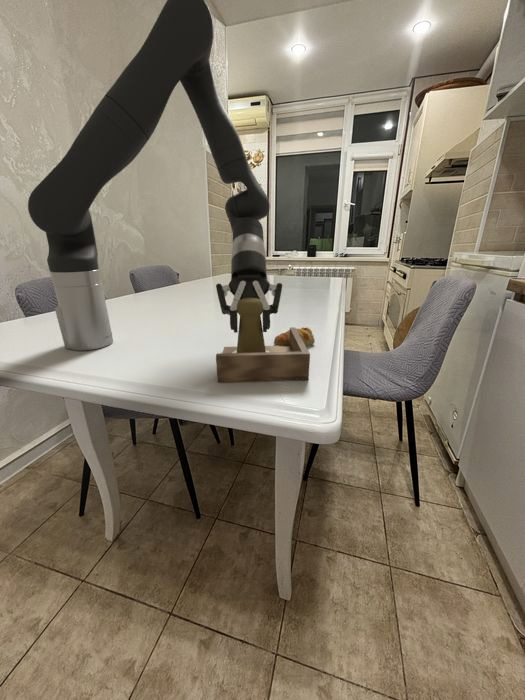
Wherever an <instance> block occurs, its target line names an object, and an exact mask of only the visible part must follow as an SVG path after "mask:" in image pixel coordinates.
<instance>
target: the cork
mask: <svg viewBox="0 0 525 700" xmlns="http://www.w3.org/2000/svg"><path fill="white" fill-rule="evenodd" d="M237 312H238V313H237V315H239V323H238V333H237V345H236V347H237V353H260V352H266V350H265V346H266V344H265V338H264V332H263V321H262V314H263V313H262V312H263V303H262V301H261V300H260V299H257V298H244V299H241V300H239V301H238V303H237Z"/></svg>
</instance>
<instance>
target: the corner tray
mask: <svg viewBox="0 0 525 700" xmlns="http://www.w3.org/2000/svg"><path fill="white" fill-rule="evenodd" d="M296 329H297V328H296V327H289V330H290V342H289V345H281V346H277V345H265V350H266V352H260V353H237V346H223V350H222V352H221V353H218V352H217V353H216V354H215V360H216V361H215V363H216V378H217V383H219V384H220V383H221V384H222V383H252V382H254V383H255V382H256V383H257V382H260V383H261V382H287V381H290V382H291V381H309V380H310V379H309V376H310V363H311V362H310V361H311V360H310V359H311V352H310V351H309V349H308V346H305V344H304V342H303V340H302V339H301V337H300V335H299V333H298V331H297V330H296Z"/></svg>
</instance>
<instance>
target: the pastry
mask: <svg viewBox="0 0 525 700" xmlns="http://www.w3.org/2000/svg"><path fill="white" fill-rule="evenodd" d="M296 330H297V331H298V333H299V335H300V337H301V339H302V340H303V342H304V344H305V346H306V347H309V346H308V345H311V346H313V345H314V344H315V343H316V342H315V337H314V334H313V331H312V330H311V328H309V327H300V328H296ZM289 342H290V329H288V330H287V331H286V332H282V333H280V334H278V335H277V336H275V337H274V340H273V344H274V346H281V345H289Z"/></svg>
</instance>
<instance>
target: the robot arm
mask: <svg viewBox="0 0 525 700" xmlns="http://www.w3.org/2000/svg"><path fill="white" fill-rule="evenodd" d="M214 35H215V34H214V21H213V16H212V12H211V10H210V8H209V6H208V4H207V2H206V0H166V2H165V3H164V6H163V7H162V8H161V11H160V13H159V15H158V16H157V18H156V20H155V22H154V24H153V26H152V28H151V29H150V31H149V33H148V35H147V37H146V39H145V41H144V42H143V44H142V45H141V48H139V50H138V52H137V53H136V55H134V57H133V58H132V59H131V60H130V61H129V63H128V64H127V66H125V68H124V69H123V70H122V72H121V73H120V74H119V76H118V78H116V80H115V82H114V83H113V84H112V86H111V87H110V88H109V89H108V90H107V92H106V93H105V95H104V96H103V97H102V99H101V100H100V102H99V103H98V104H97V106H96V107H95V109H94V110H93V112H92V113H91V115H90V117H89V118H88V119H87V121H86V122H85V124H84V126H83V127H82V128H81V130H80V131H79V133H78V135H77V136H76V138H75V139H74V141H73V142H72V144H71V146H70V148H69V149H68V151H67V153H66V154H65V155H64V156H63V158H62V159H61V160H60V162H58V163H57V164H56V166H55V167H54V168H52V170H51V171H50V172H49V173H48V174H47V175H46V176H45V177H44V178H43V179H42V180H41V181H40V183H39V184H37V185H36V186H35V187H34V189H33V190H32V192H31V193H30V195H29V197H28V201H27V210H28V214H29V217H30V219H31V221H32V222H33V224H34V225H36V227H37V228H38V229H40V230H42V231H43V232H45V234H46V240H47V243H48V244H47V245H48V254H47V260H46V263H47V265H48V270H49V273H50V278H51V281H52V282H51V283H52V285H53V289H54V293H55V297H56V300H57V303H58V306H56V307H55V308H54V311H55V315H56V318H57V323H58V326H59V331H60V333H61V337H62V342H63V344H64V349H66V350H68V349H70V350H72V351H73V350H74V351H79V352H80V351H90V350H96V349H101V348H104V347H107V346H109V345H111V344H113V342H114V338H113V332H112V327H111V323H110V317H109V312H108V307H107V303H106V298H105V292H104V287H103V283H102V282H103V281H102V277H101V273H100V268H99V262H98V254H99V253H98V248H97V241H96V236H95V230H94V226H93V225H94V224H93V219H92V215H91V212H90V208H91V206H92V204H93V203H94V201H95V199H96V198H97V196H98V195H99V193H100V192H101V190H102V189H103V187H105V185H107V184H108V183H109V182H110V181H111V180H112V179H113V178H114V177H116V176H118V174H119V173H121V172H122V171H123V170H124V169H126V168H127V167H128V166H129V165H130V164H131V163H132V162H133V161H134V160H135V159H136V158H137V156H138V155H139V153H140V152H141V151H142V149H143V148H144V147H145V146H146V144H147V143H148V142H149V140H150V139H151V137H152V135H153V134H154V132H155V130H156V128H157V126H158V125H159V122H160V120H161V118H162V116H163V113H164V111H165V109H166V106H167V105H168V102H169V100H170V97H171V95H172V94H173V91H174V90H175V88H176V86H177V85H178V83H179V82H180V83H181V85H182V87H183V90H184V91H185V93H186V95H187V97H188V99H189V101H190V103H191V105H192V108H193V110H194V112H195V115H196V117H197V119H198V121H199V124H200V126H201V129H202V131H203V134H204V136H205V140H206V143H207V145H208V148H209V151H210V153H211V156H212V158H213V162H214V164H215V166H216V169H217V171H218V175H219V177H220V179H221V181H222V183H224V184H225V185H226V184H227V185H229V184H235V183H242V184H243V185H244V186H245V188H246V189H245V190H243V191H241V192H239V193H236V194H234V195H232V196H230V197H229V198H228V199H227V201H226V202H225V206H224V210H225V214H226V216H227V219H228V221H229V224H230V227H231V231H232V247H231V251H230V252H231V253H230V254H231V255H230V256H231V260H230V263H231V264H230V265H231V267H230V268H231V271H230V273H231V275H230V281H229V283H228V284H224V285H222V283H217V284H215V288H216V294H217V298H218V303H219V307H220V310H221V314H223V315H228V316H229V326H230V330H231V331H233V333H234V334H236V333H237V334H238V332H239V323H238V318H239V317H238V312H237V303H238V301H239V300H241V299H244V298H257V299H260V300H261V301H262V303H263V312H262V314H261V322H262V329H263V333H267V332H268V331H267V330H270V328H271V314H274V315H275V314H277V313H278V312H279V307H280V301H281V296H282V290H283V284H282V283H281V282H278V283H276V284H271V283H270V282H269V280H268V274H267V273H268V272H267V257H266V256H267V255H266V247H265V243H264V242H265V241H264V238H265V237H264V228H263V225H262V223H261V222H260V220H261V219H264V218H266V217H267V216H268V215H269V213H270V207H271V206H270V205H271V203H270V201H269V200H270V199H269V197H268V196H267V193H266V192H265V191H264V189H263V187H262V186H261V185H260V183H259V181H258V179H257V178H256V175H254V173H253V171H252V169H251V167H250V164H249V161H248V158H247V156H246V153H245V149H244V147H243V143H242V141H241V138H240V135H239V134H238V131H237V128H236V127H235V124H234V123H233V120H232V119H231V117H230V116H229V113H228V112H227V110H226V108H225V107H224V105H223V103H222V100H221V98H220V96H219V92H218V91H217V87H216V84H215V81H214V80H215V79H214V76H213V72H212V67H211V62H210V61H211V60H210V57H211V53H212V49H213V44H214ZM269 291H270V293H271V295H272V297H273V302H272V304H269V302H268V301H267V298H266V295H267V294H268V292H269ZM228 292H230V293H231V294H232V295H233V299H232V302H231V305H228V304H227V300H226V297H227V296H228Z"/></svg>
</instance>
